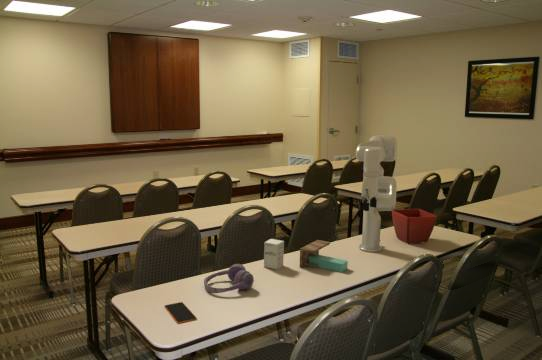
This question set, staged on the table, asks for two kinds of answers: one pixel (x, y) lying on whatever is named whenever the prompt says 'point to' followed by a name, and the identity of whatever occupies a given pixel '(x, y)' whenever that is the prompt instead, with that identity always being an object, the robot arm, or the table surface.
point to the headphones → (232, 279)
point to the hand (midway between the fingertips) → (369, 208)
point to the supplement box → (273, 253)
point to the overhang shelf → (311, 252)
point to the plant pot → (413, 225)
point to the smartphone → (180, 312)
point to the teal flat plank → (329, 262)
